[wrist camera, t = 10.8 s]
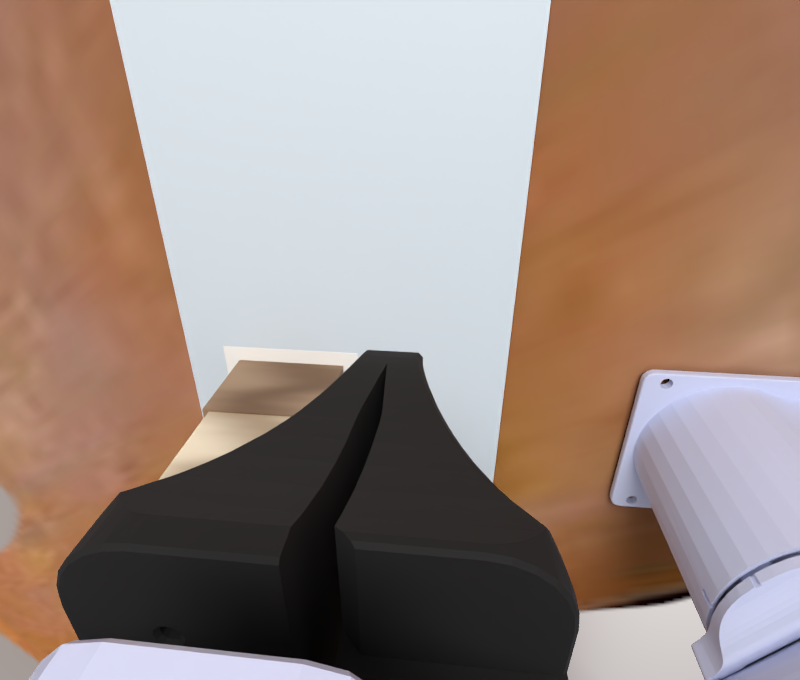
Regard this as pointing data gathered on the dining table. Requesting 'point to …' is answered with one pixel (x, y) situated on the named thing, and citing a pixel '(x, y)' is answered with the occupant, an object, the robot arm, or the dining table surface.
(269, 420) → the birch block
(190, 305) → the pale grey rectangular board
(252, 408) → the walnut base block
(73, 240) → the dining table surface
